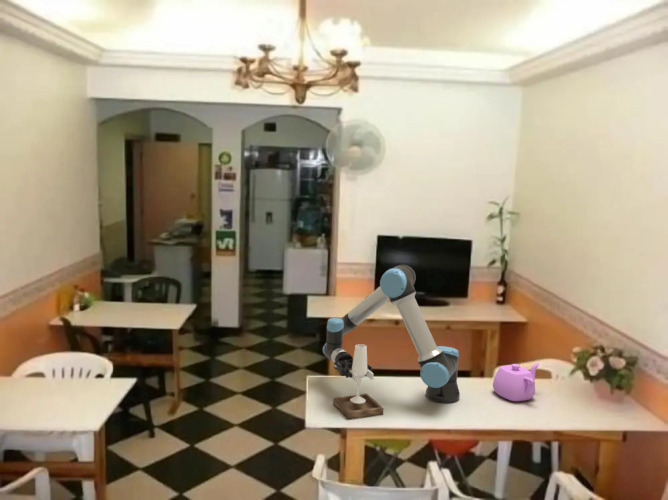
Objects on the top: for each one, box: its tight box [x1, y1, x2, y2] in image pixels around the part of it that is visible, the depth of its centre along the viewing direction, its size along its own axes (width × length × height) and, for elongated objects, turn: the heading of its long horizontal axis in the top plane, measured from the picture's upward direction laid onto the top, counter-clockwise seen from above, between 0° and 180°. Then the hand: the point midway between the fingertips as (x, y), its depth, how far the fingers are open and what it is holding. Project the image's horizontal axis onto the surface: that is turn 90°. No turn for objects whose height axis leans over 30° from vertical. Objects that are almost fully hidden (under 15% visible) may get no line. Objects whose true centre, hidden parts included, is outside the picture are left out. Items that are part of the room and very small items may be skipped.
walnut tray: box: [332, 393, 384, 421], centre depth 261 cm, size 16×16×3 cm
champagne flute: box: [350, 343, 368, 403], centre depth 258 cm, size 7×7×24 cm
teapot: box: [492, 363, 540, 402], centre depth 281 cm, size 23×21×15 cm
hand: (364, 377), depth 254 cm, fingers closed on champagne flute, 7 cm apart
